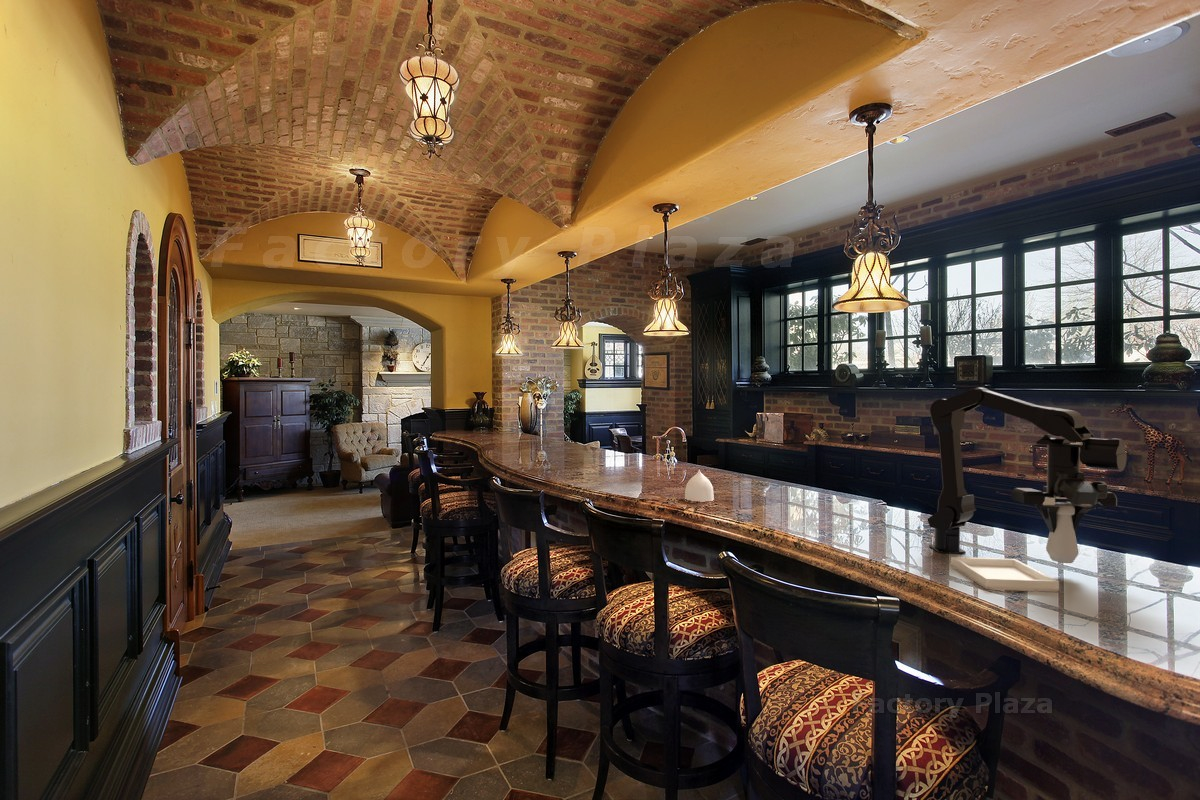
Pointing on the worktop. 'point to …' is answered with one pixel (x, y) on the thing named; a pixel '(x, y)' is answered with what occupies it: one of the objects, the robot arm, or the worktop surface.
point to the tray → (1004, 574)
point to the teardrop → (699, 489)
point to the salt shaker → (1063, 536)
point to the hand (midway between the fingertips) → (1062, 534)
